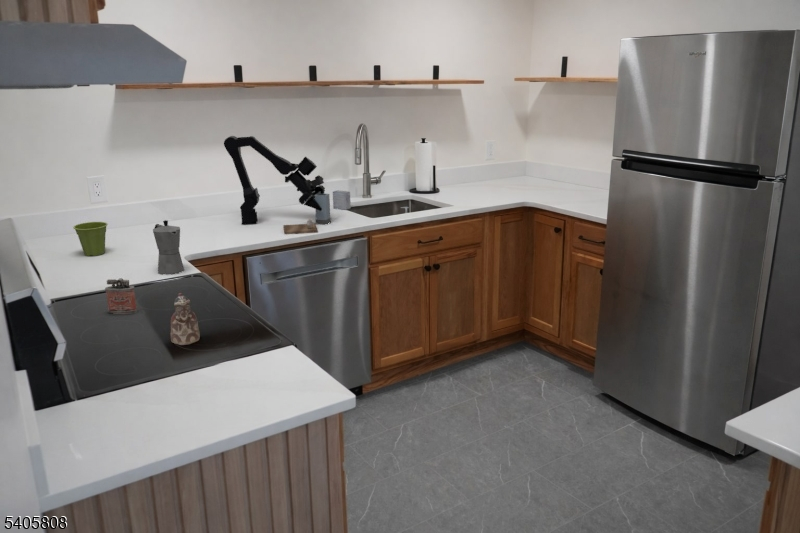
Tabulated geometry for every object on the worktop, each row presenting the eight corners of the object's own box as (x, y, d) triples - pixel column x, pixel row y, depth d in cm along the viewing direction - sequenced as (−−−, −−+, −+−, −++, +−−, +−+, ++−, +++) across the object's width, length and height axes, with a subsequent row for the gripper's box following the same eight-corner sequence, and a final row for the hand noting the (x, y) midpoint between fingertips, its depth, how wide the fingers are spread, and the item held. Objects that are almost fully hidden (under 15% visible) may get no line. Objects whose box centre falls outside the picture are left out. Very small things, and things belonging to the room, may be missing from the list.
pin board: (284, 234, 278) (283, 222, 276) (283, 227, 290) (282, 216, 289) (317, 232, 280) (317, 221, 279) (315, 225, 293) (314, 214, 291)
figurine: (170, 346, 166) (165, 301, 163) (171, 335, 173) (166, 292, 169) (199, 342, 168) (195, 298, 165) (200, 332, 175) (195, 290, 171)
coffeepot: (192, 272, 227) (187, 221, 222) (166, 278, 221) (160, 225, 216) (172, 263, 238) (167, 214, 233) (147, 268, 232) (141, 218, 226)
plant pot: (70, 256, 247) (65, 227, 244) (93, 248, 258) (89, 220, 254) (96, 259, 244) (92, 229, 240) (118, 251, 254) (114, 222, 251)
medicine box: (351, 208, 328) (350, 191, 325) (345, 210, 324) (345, 192, 322) (338, 207, 332) (337, 190, 329) (333, 208, 328) (332, 191, 326)
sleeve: (315, 223, 296) (314, 195, 292) (319, 221, 301) (318, 193, 297) (326, 224, 294) (325, 195, 291) (331, 221, 299) (329, 193, 296)
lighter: (139, 309, 192) (134, 277, 189) (135, 313, 189) (130, 280, 186) (111, 310, 192) (106, 277, 189) (106, 314, 188) (101, 281, 186)
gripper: (304, 173, 283) (329, 200, 284) (319, 167, 300) (343, 192, 301) (288, 191, 287) (313, 217, 288) (304, 184, 305) (328, 208, 305)
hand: (325, 208), depth 295 cm, fingers open, 9 cm apart
